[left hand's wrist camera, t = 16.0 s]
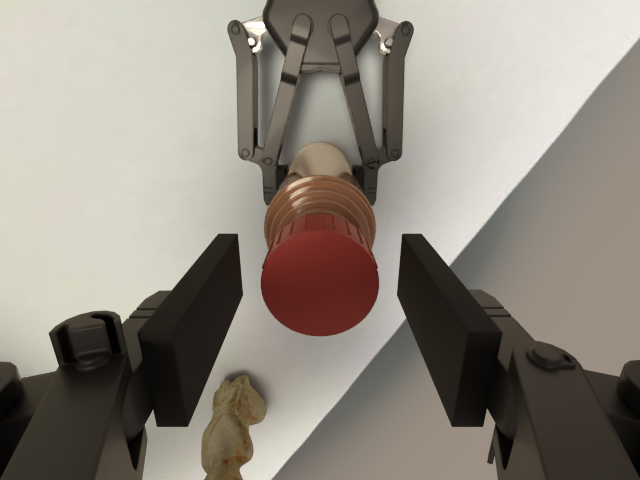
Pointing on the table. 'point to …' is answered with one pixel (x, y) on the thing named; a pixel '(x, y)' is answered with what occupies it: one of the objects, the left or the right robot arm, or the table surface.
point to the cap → (319, 276)
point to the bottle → (319, 192)
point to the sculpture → (231, 429)
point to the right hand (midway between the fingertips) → (319, 238)
